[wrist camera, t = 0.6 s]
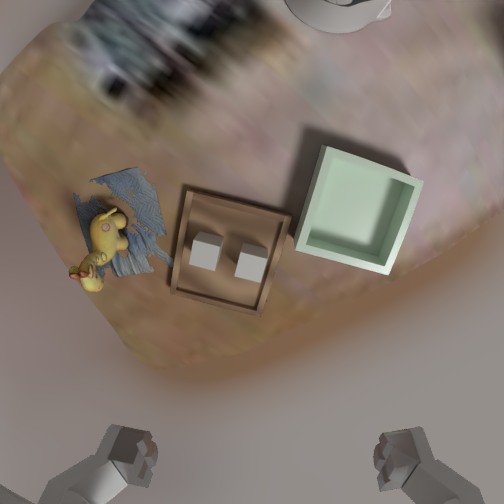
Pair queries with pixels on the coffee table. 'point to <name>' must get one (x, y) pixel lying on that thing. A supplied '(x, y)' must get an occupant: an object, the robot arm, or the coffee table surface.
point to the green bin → (356, 211)
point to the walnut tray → (227, 251)
